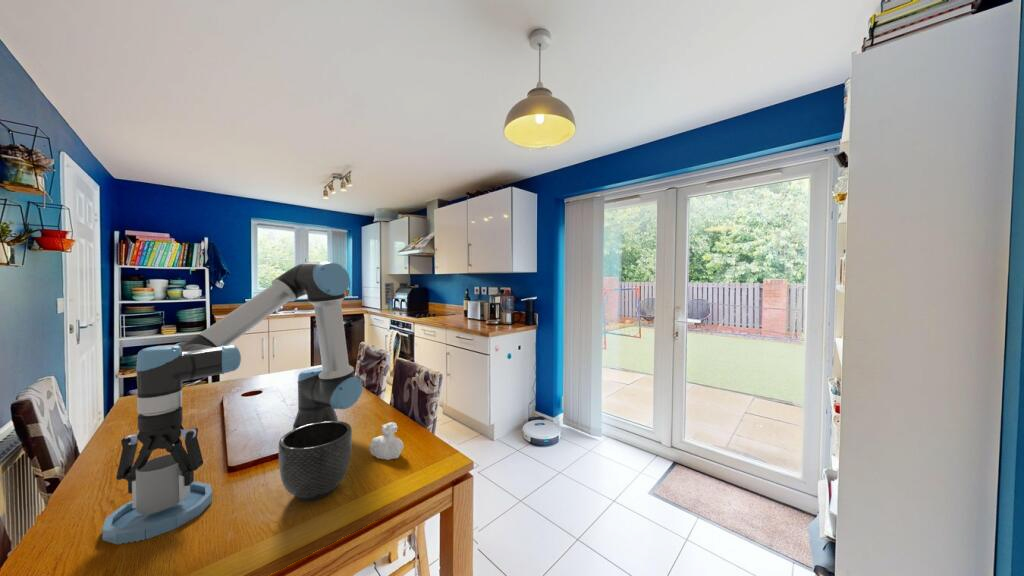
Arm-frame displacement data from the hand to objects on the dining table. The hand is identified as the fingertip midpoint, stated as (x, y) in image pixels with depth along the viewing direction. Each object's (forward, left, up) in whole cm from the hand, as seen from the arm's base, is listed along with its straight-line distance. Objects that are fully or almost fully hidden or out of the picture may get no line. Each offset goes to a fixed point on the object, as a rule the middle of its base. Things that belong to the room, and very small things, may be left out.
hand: (162, 501), depth 81 cm
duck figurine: (-51, -15, -3) cm, 53 cm away
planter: (-34, 0, -3) cm, 34 cm away
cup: (0, 0, 0) cm, 0 cm away
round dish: (0, 0, -3) cm, 3 cm away
